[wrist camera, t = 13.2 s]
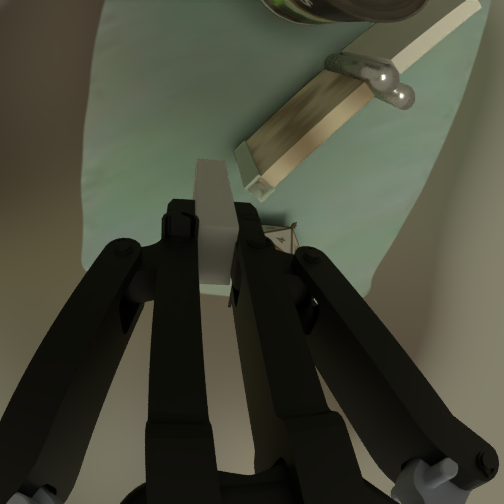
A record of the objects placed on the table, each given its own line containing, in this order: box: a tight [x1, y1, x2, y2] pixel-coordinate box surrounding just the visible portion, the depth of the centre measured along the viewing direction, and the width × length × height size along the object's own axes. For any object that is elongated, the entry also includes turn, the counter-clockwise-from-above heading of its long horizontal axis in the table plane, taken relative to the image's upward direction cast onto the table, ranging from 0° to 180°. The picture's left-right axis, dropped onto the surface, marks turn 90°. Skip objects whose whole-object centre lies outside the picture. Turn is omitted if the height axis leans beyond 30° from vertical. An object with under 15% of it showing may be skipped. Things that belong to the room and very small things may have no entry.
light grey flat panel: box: [341, 0, 482, 74], centre depth 21 cm, size 13×2×10 cm, turn 135°
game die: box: [261, 222, 300, 254], centre depth 37 cm, size 9×8×10 cm
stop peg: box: [369, 83, 415, 110], centre depth 26 cm, size 2×2×8 cm
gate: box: [234, 69, 375, 202], centre depth 27 cm, size 13×2×9 cm, turn 135°
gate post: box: [325, 54, 399, 93], centre depth 24 cm, size 2×2×10 cm
